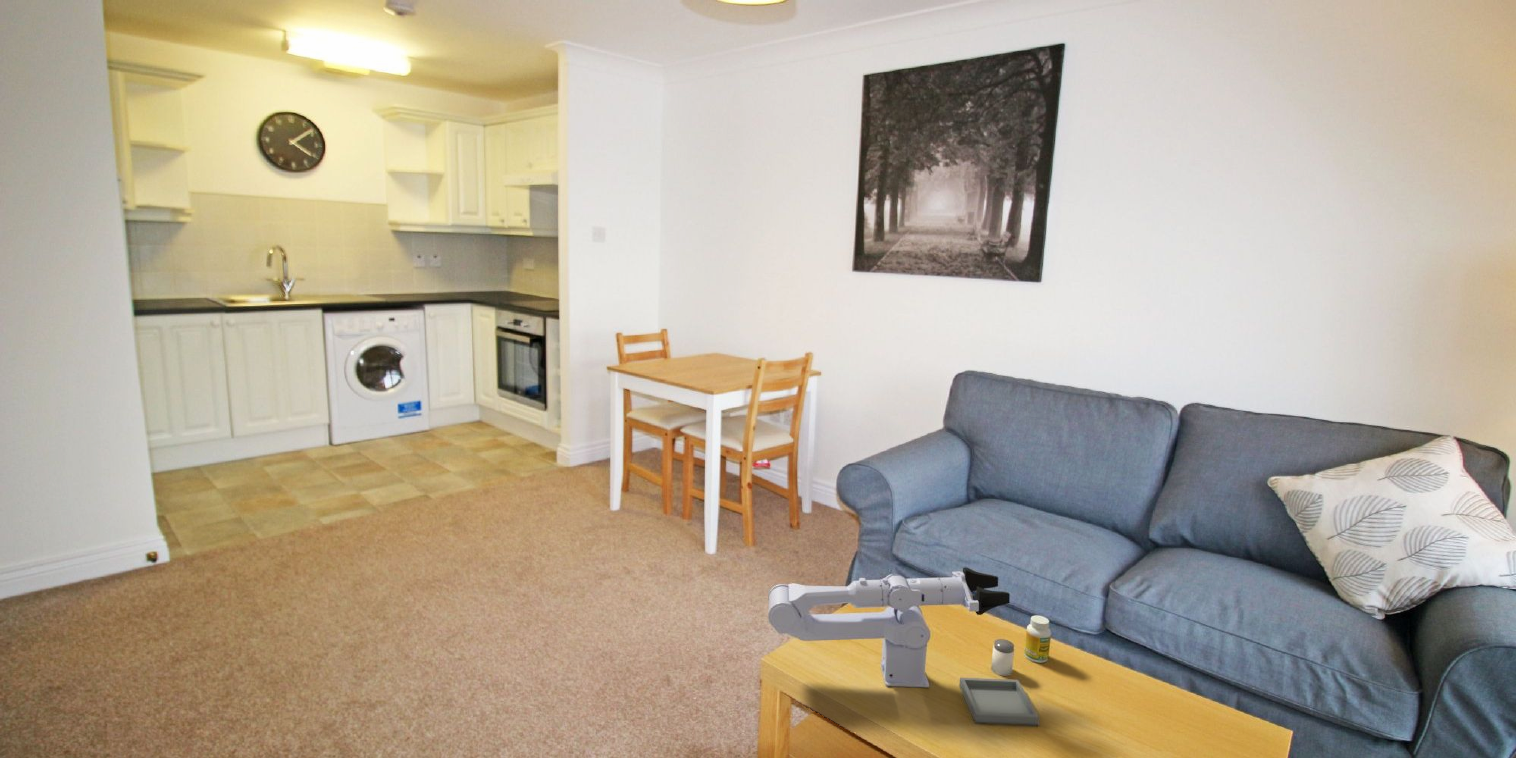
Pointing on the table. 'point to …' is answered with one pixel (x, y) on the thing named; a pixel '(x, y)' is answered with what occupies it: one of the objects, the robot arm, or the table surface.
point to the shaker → (1002, 657)
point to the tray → (998, 702)
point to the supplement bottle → (1038, 639)
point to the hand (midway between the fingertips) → (1003, 589)
